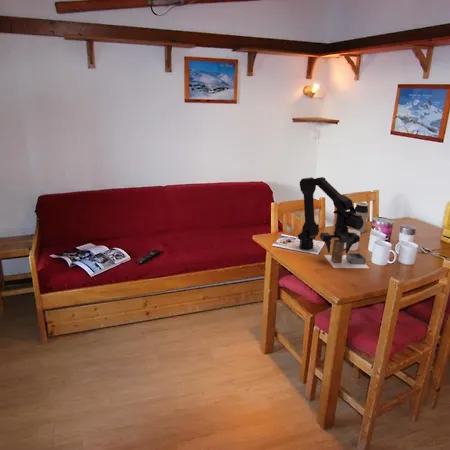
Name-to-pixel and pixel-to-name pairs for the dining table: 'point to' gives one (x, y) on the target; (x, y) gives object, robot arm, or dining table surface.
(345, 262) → the board
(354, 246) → the mug
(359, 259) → the block
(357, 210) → the travel mug
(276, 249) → the dining table surface
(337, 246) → the post
